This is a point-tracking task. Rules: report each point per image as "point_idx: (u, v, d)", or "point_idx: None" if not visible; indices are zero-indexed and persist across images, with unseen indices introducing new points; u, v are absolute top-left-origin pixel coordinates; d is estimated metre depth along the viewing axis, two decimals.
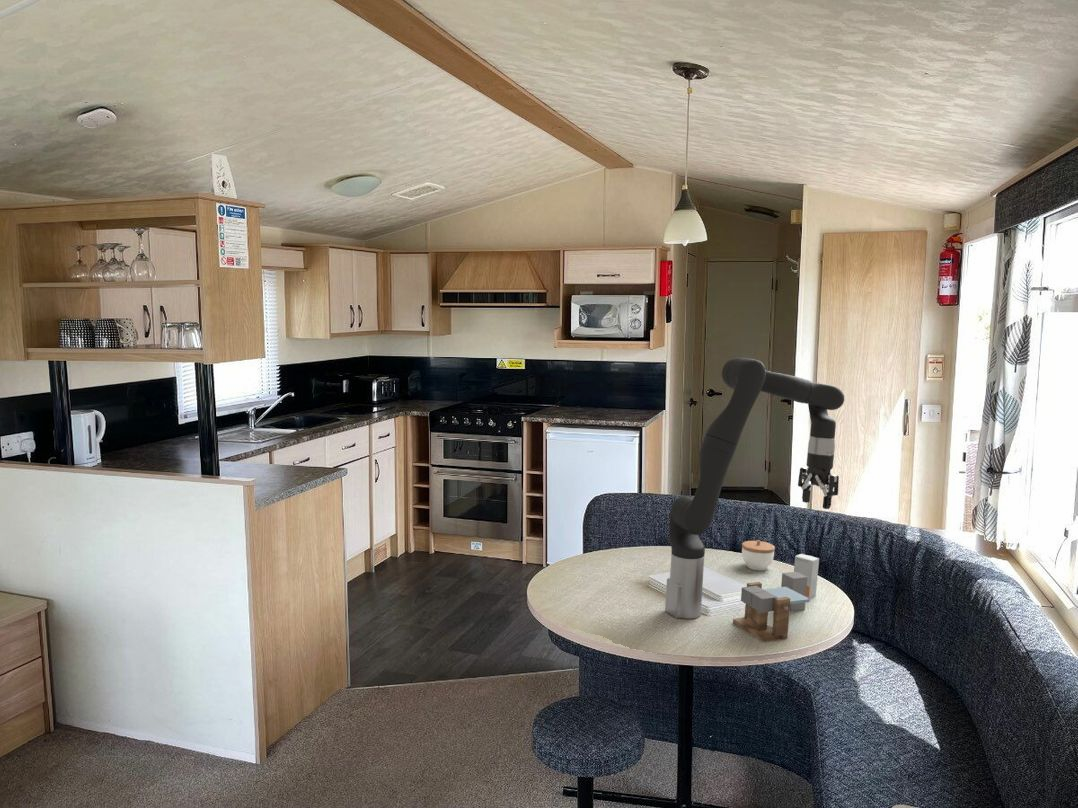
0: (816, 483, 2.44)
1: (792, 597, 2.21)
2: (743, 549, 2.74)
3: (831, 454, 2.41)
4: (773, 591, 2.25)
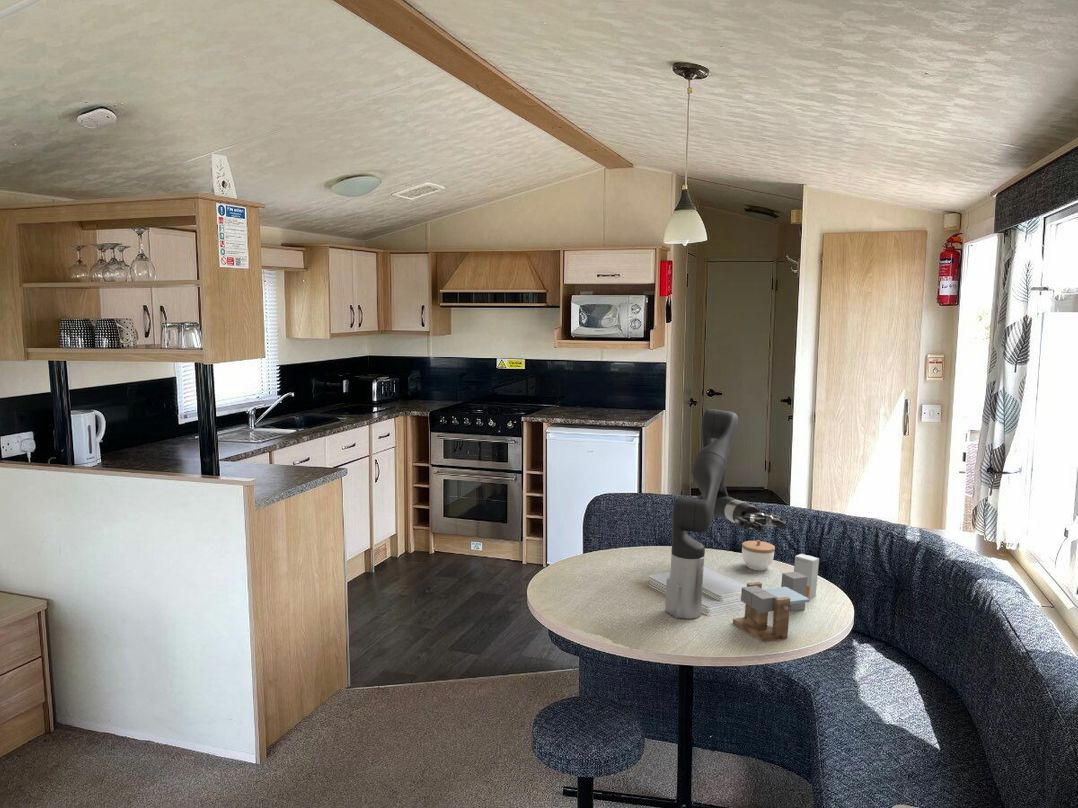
0: (761, 518, 2.53)
1: (792, 597, 2.21)
2: (743, 549, 2.74)
3: None
4: (773, 591, 2.25)
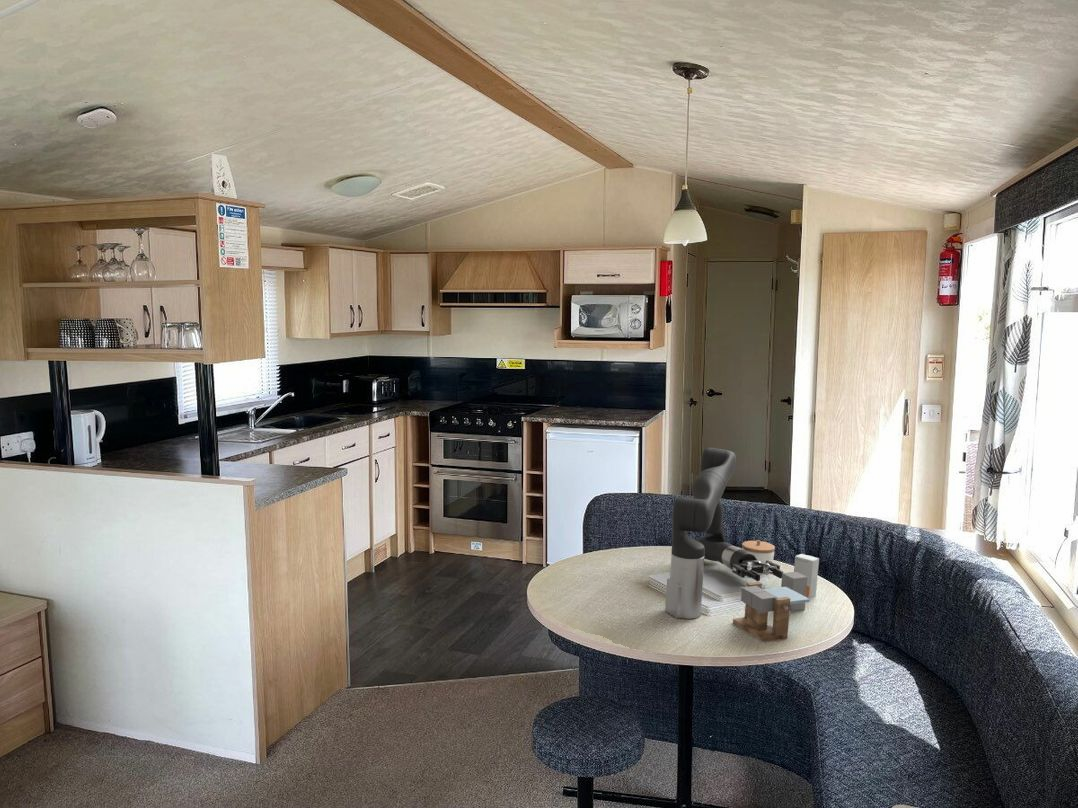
0: (758, 565, 2.54)
1: (792, 597, 2.21)
2: (743, 549, 2.74)
3: None
4: (773, 591, 2.25)
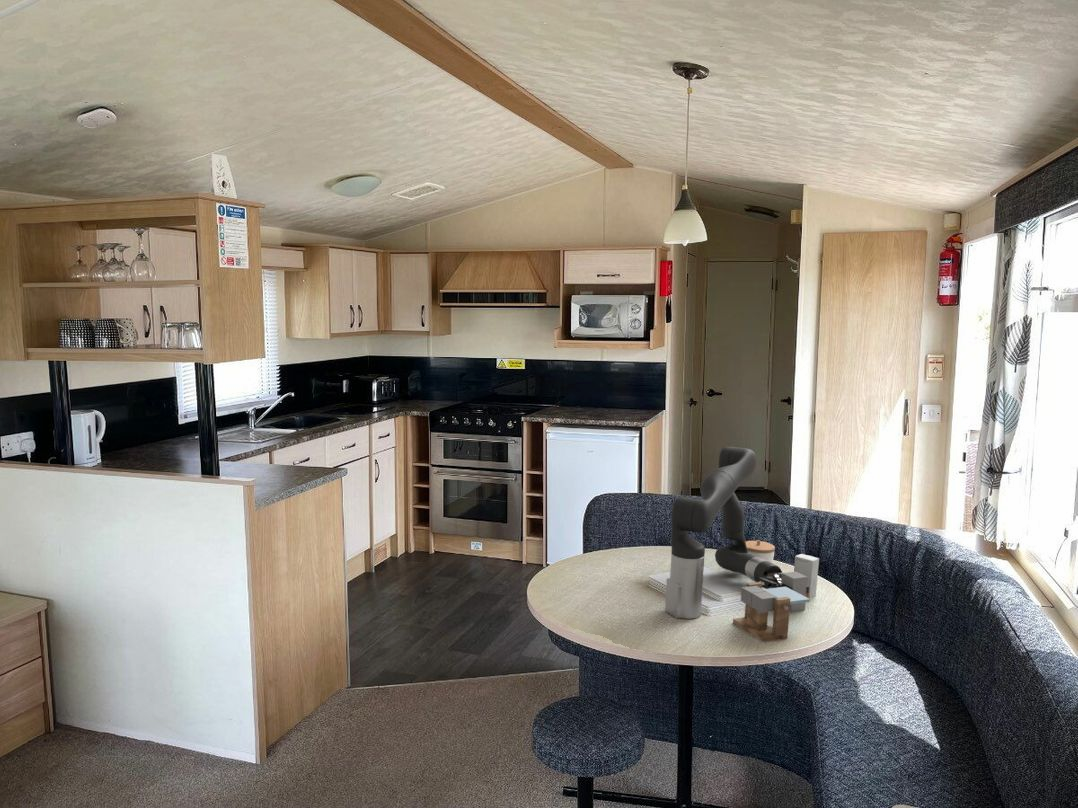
0: None
1: (792, 597, 2.21)
2: None
3: None
4: (773, 591, 2.25)
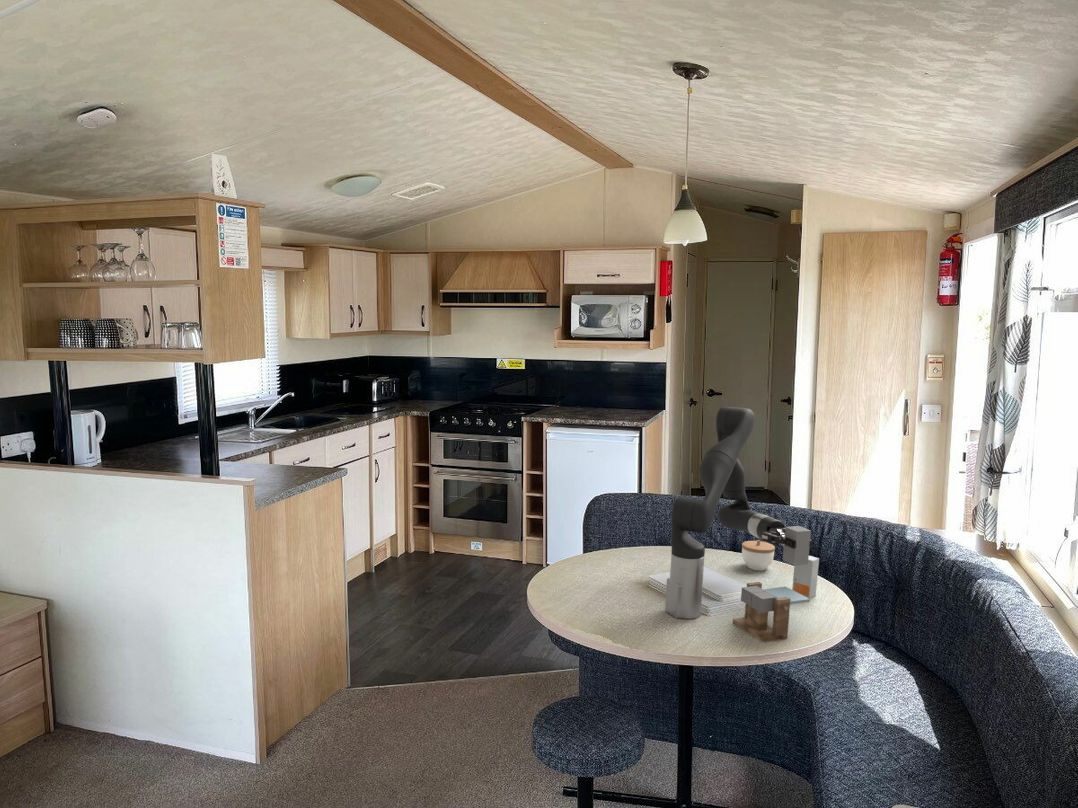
0: None
1: (792, 597, 2.21)
2: (743, 549, 2.74)
3: None
4: (773, 591, 2.25)
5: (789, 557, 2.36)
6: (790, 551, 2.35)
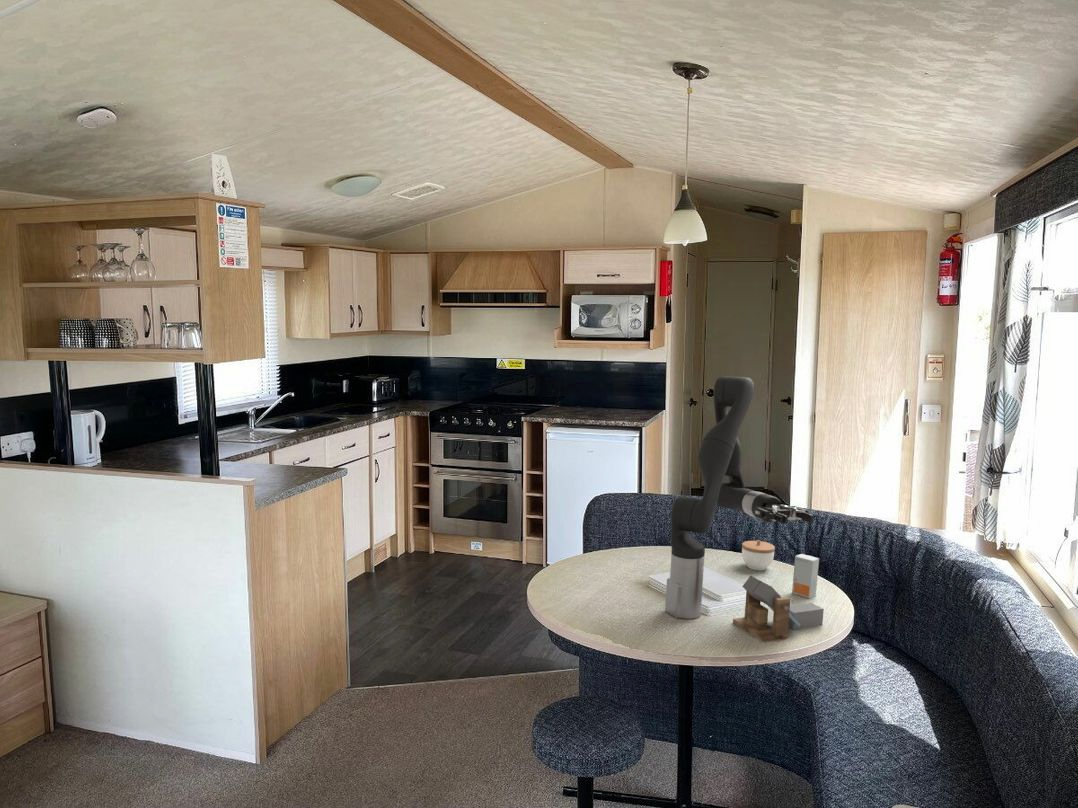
0: (784, 509, 2.26)
1: None
2: (743, 549, 2.74)
3: None
4: None
5: (794, 609, 2.25)
6: (800, 609, 2.25)
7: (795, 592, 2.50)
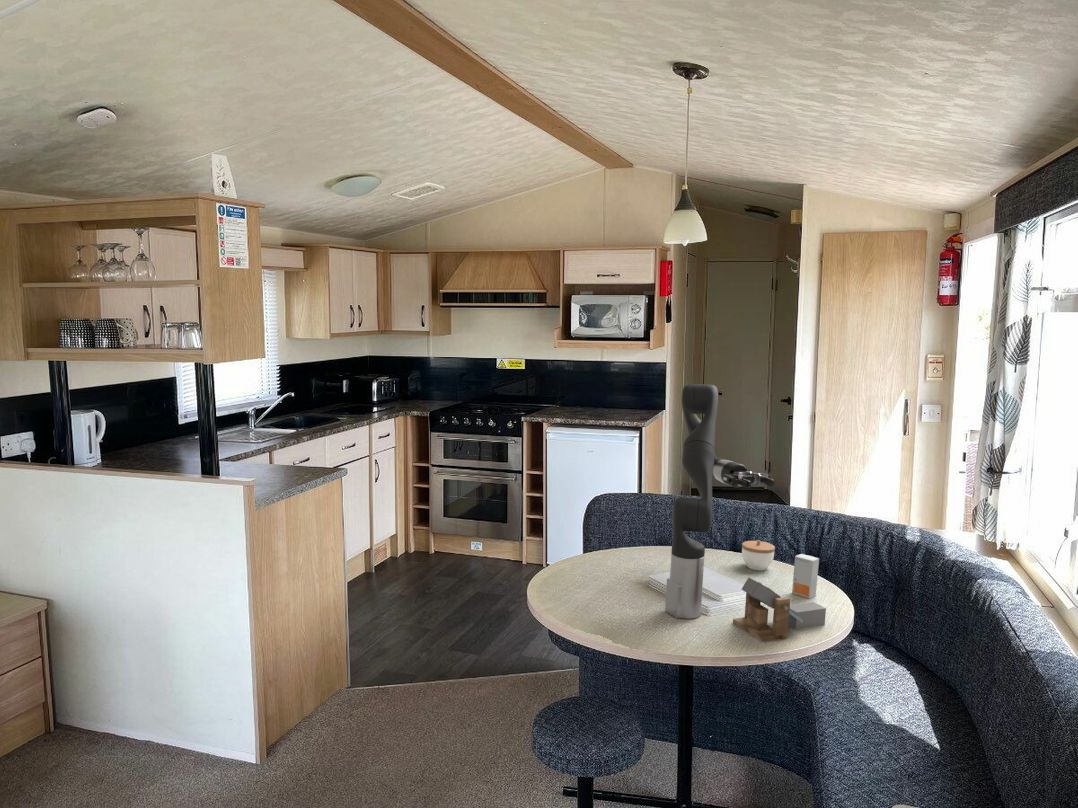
0: (749, 475, 2.53)
1: None
2: (743, 549, 2.74)
3: None
4: None
5: (796, 608, 2.25)
6: (803, 608, 2.26)
7: (795, 592, 2.50)
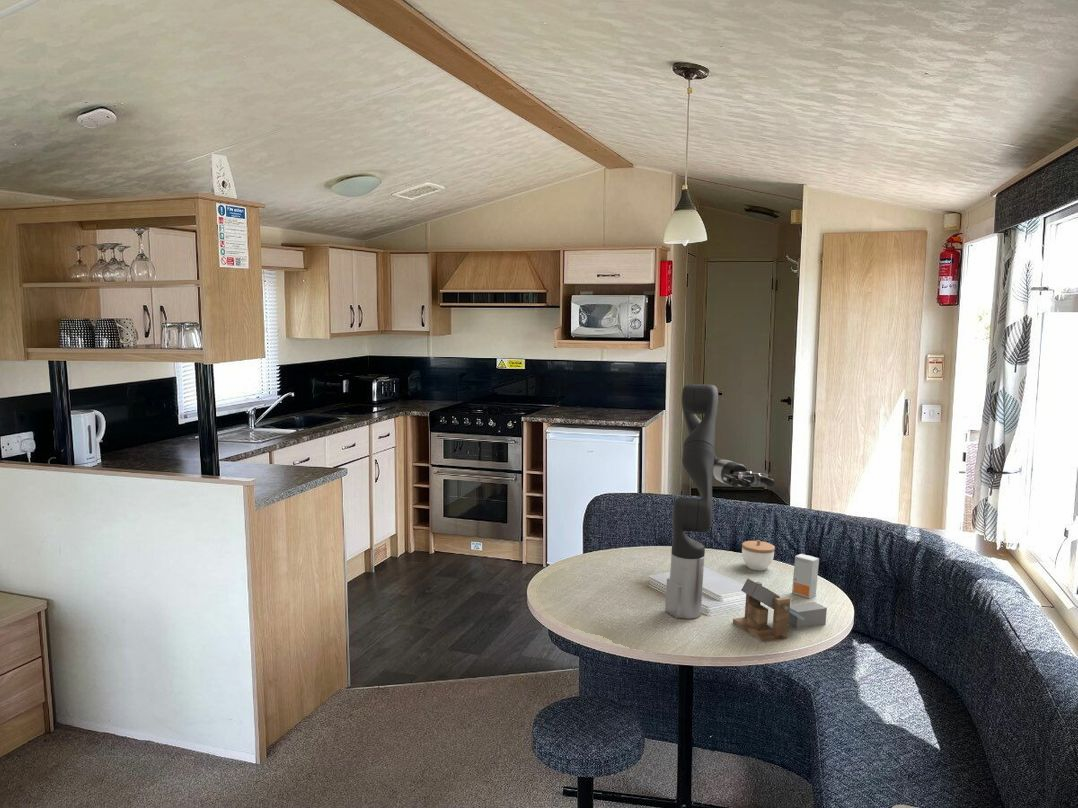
0: (749, 475, 2.53)
1: None
2: (743, 549, 2.74)
3: None
4: None
5: (797, 608, 2.25)
6: (803, 608, 2.26)
7: (795, 592, 2.50)
